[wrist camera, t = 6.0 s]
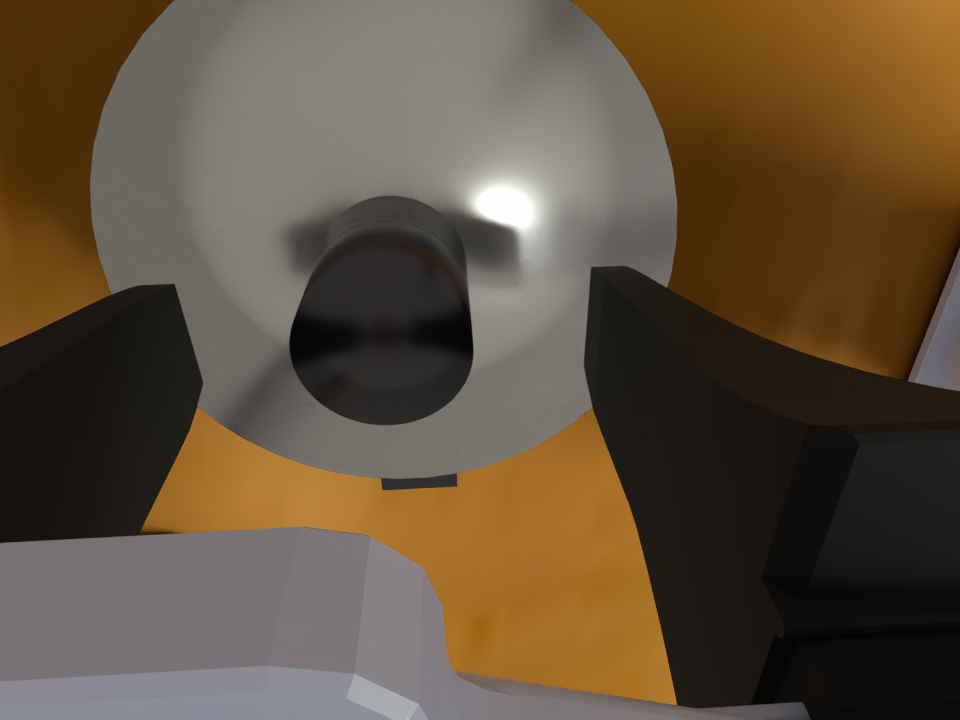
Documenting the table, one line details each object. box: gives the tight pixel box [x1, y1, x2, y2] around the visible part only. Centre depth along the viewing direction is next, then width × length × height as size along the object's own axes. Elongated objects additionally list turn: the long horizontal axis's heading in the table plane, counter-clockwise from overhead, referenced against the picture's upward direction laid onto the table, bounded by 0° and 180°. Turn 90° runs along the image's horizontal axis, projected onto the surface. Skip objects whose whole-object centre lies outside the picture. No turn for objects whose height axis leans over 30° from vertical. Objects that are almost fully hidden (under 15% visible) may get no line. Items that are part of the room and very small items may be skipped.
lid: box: [90, 0, 677, 479], centre depth 12 cm, size 11×11×4 cm
